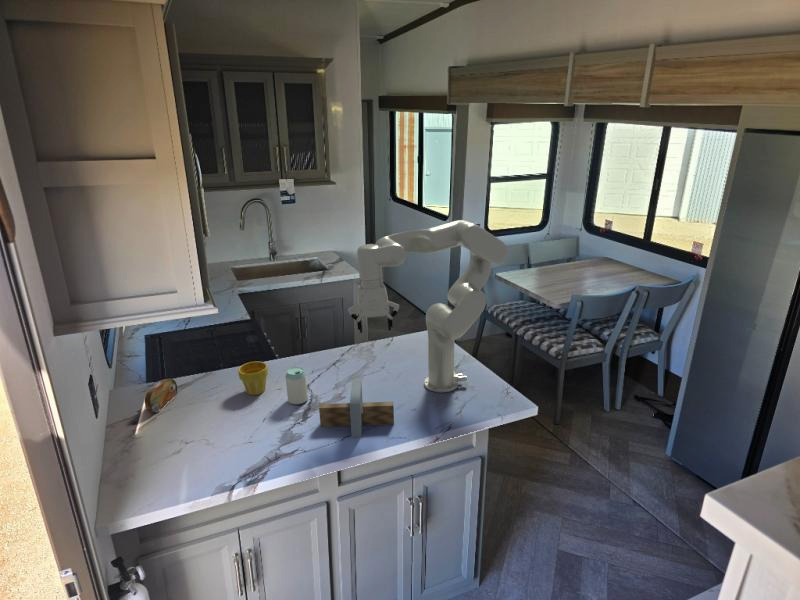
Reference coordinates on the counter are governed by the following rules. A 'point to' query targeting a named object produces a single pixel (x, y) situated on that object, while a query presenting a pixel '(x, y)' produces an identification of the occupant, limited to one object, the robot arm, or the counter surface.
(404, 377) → the counter surface
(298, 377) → the can
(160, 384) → the tin
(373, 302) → the robot arm
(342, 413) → the walnut slotted board
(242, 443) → the counter surface
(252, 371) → the plant pot
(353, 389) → the plain grey board
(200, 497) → the counter surface
